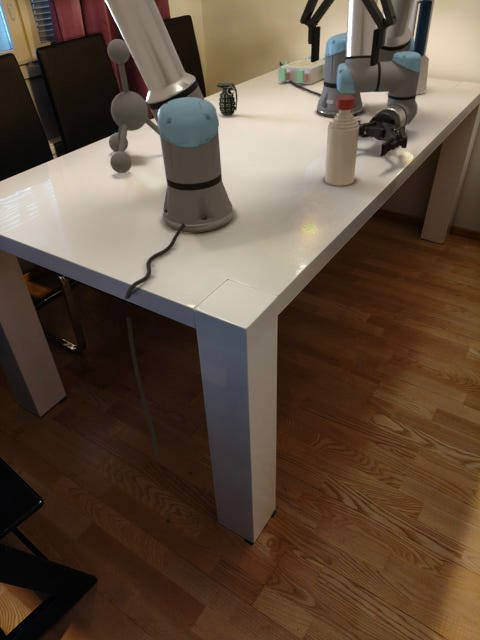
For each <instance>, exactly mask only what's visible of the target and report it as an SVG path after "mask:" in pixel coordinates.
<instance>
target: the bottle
mask: <svg viewBox="0 0 480 640" xmlns="http://www.w3.org/2000/svg"><path fill="white" fill-rule="evenodd" d="M355 117H356V116H353V115H352V113H351V110H339V113H337V115H336V116H335V117H332V119H331V120H330V121H329V123H328V125H327V136H326V137H327V138H326V151H325V152H326V153H325V169H324V181H325V183H326V184H329V185H331V186H337V187H339V186H340V187H343V186H348V185H352V184H353V183H354V181H355V175H356V164H357V156H358V155H357V153H358V146H359V144H358V143H359V137H360V136H359V123H358V119H357V118H355ZM358 136H359V137H358Z"/></svg>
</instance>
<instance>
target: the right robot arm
mask: <svg viewBox="0 0 480 640" xmlns="http://www.w3.org/2000/svg"><path fill="white" fill-rule="evenodd" d="M374 1H375V2H376V4H377V5H378V1H379V0H374ZM391 1H392V5H393V8H394V11H395V15H396V18H397V22H396V24H394V25H392V26H389V27H388V28H387V29H386V37H385V44H384V46H383V47H380V50H379V58H378V64H376V65H375V66H370V61H371V51H372V41H373V32H374V30H375V29H377V28H378V27H377V26H376V24H375V22H374V20H373V19H372V17H371V15H370V14H369V12H368V10H367V9H366V7H365V5H364V4H363V2H362V0H347V19H346V32H341V33H338V34H334V35H332V36H330V37H329V38H328V39H327V40H326V43H325V52H324V58H325V71H324V79H323V87H322V90H321V93H319V92H317V91H314V90H311V89H309V88H306V87H304V86H302V85H299V84H298V83H294V82H292V81H291V80H290V81H289V82H288V83H290V84H292V85H293V86H295V87H297V88H299V89H302V90H304V91H306V92H308V93H311V94H314V95H317V96H319V99H318V102H317V106H316V113H317V114H318V115H320V116H322V117H327V118H334V117H335V116H336V115H337V113H339V109H337V108H336V103H337V97H339V96H353V97H355V103H354V108H353V109H351V113H352V115H353V116H354V117H356V116H359V115H360V114H362V113H363V100H362V96H361V95H362V94H361V93H387V92H388V93H387V102H386V106H385V107H383V108H381V110H379V111H378V112H377V113H375V114H373V116H372V117H371V119H370V120H369V121H368V122H363V123H361V122H362V121H361V120H358V119H357V121H358V123H359V136H358V138H359V137H361V138H374V139H376V140H378V141H381V142H383V143H382V144H381V148H380V157H384V156H386V155H387V154H388V153H389V152H391V151H393V150H396V149H399V147H401V149H407V146H408V141H409V136H408V134H407V132H406V129H407V127H406V126H408V125H409V124H411V122H412V121H413V120H414V119H415V118H416V116H417V114H418V107H419V106H418V104H417V100H416V97H417V95H416V91H417V85H418V79H419V74H420V66H421V55H420V54H419V53H417V52H413V51H414V41H415V37H414V38H413V36H412V35H411V31H410V29H409V28H408V26H409V22H410V18H411V14H412V11H413V7H414V3H415V0H391ZM381 13H382V14H383V16H384V18H385V15H384V12H383V9H382V8H381ZM279 64H280V67H281V66H283V65H284V64H283V63H282V62H281V61H279Z"/></svg>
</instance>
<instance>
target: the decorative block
mask: <svg viewBox="0 0 480 640" xmlns="http://www.w3.org/2000/svg"><path fill="white" fill-rule="evenodd" d="M282 65H283V66H281V65H280V67H279V68H278V69H277V70H278V71H277V73H278V74H277V76H278V77H277V79H278V82H285V83H286V82H287V83H290V82H289V81H290V80H291V81H292V82H294V83H296V84H304V85H312V84H315V83H317V82H319V81H321V80H324V71H325V57H319V60H318V61H316V62H311V55H310V56H308V57H306V58H303V59H302V58H299V59H297V60H295V61H292V62H289V61H285V62H284V63H283V64H282Z"/></svg>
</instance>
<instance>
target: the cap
mask: <svg viewBox="0 0 480 640" xmlns="http://www.w3.org/2000/svg"><path fill="white" fill-rule="evenodd" d="M354 103H355V97H353V96H339V97H337V103H336V108H337V109H339V110H351V109H353V108H354Z"/></svg>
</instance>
